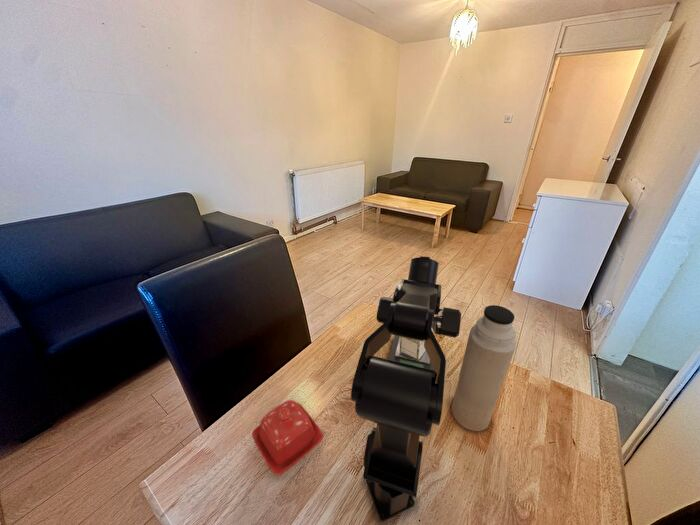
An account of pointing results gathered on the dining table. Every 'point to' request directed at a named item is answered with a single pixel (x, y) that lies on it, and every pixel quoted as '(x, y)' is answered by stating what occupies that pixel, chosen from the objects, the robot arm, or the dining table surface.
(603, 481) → the dining table surface
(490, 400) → the thermos bottle
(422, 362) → the scale
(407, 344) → the syrup box
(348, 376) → the dining table surface
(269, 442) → the butter dish
